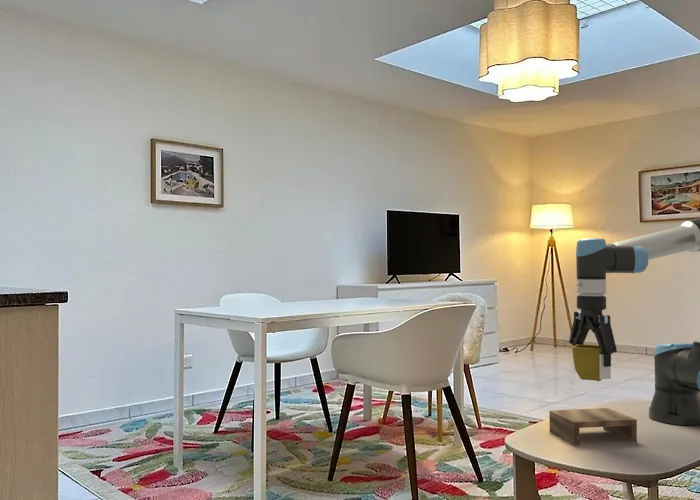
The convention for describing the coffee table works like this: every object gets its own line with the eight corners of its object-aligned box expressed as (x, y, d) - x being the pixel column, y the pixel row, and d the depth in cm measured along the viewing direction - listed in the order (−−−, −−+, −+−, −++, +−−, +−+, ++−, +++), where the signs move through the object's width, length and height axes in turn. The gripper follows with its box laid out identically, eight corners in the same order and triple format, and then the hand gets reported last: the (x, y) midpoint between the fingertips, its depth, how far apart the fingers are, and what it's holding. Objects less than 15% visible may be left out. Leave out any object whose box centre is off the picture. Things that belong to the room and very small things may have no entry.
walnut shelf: (608, 429, 176) (607, 408, 176) (636, 442, 163) (636, 419, 163) (549, 432, 173) (549, 410, 173) (574, 445, 160) (574, 422, 160)
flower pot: (578, 375, 174) (577, 343, 174) (611, 378, 170) (611, 345, 170) (571, 380, 167) (571, 347, 167) (606, 383, 162) (606, 349, 162)
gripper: (556, 292, 180) (556, 367, 179) (604, 297, 156) (605, 383, 156) (579, 292, 181) (580, 366, 181) (631, 297, 157) (631, 382, 157)
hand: (591, 374), depth 168 cm, fingers closed on flower pot, 12 cm apart
